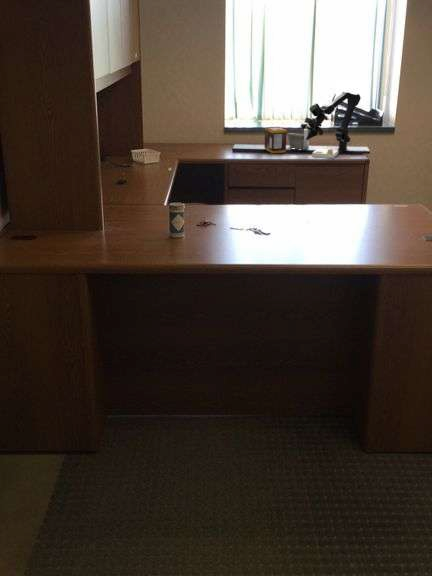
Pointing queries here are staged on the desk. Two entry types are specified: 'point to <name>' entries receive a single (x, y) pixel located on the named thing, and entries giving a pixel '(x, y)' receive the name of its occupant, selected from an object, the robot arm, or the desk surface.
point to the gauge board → (325, 153)
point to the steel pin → (305, 142)
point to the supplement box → (275, 139)
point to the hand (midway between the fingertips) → (304, 139)
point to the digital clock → (296, 140)
